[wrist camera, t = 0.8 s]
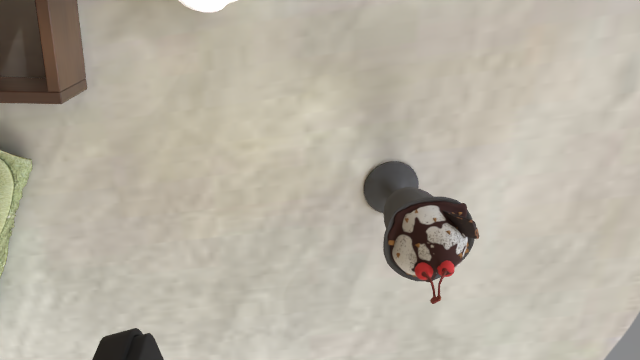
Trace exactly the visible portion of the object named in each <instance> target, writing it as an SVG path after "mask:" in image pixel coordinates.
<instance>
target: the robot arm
mask: <svg viewBox="0 0 640 360" xmlns="http://www.w3.org/2000/svg"><path fill="white" fill-rule="evenodd" d="M93 360H164V359H163V357H162V355H161V353H160V350H159V348H158V346H157V343H156V341H155V339H154V337H153V336H152V335H151V334H150V333H147V334H144V335H143V334H142V332H141V331H140V330H139V329H137V328H134V329H130V330H127V331H123V332H119V333H116V334H112V335H108V336H105V337H103V338H102V340H101V341H100V343H99V346H98V348H97V350H96V353H95V355H94V357H93Z"/></svg>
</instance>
